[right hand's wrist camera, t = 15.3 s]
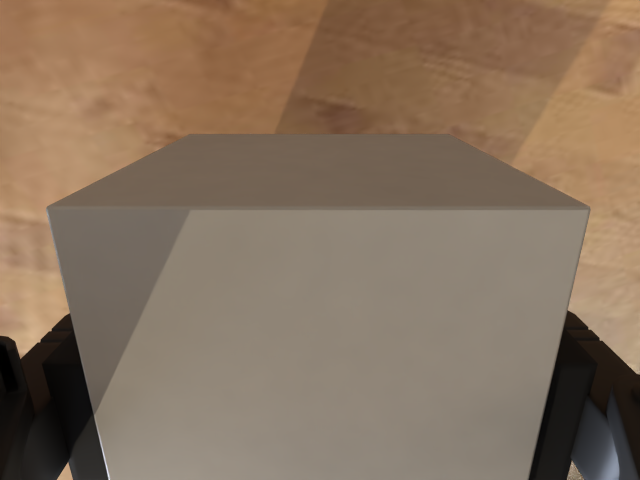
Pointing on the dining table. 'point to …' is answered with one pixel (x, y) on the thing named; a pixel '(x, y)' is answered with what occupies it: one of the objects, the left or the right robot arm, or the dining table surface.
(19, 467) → the right robot arm
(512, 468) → the block
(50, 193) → the dining table surface
